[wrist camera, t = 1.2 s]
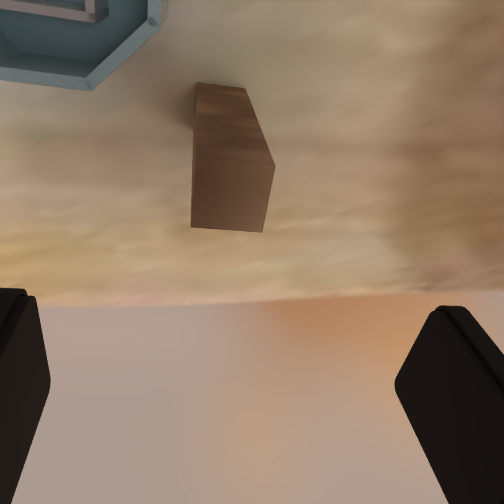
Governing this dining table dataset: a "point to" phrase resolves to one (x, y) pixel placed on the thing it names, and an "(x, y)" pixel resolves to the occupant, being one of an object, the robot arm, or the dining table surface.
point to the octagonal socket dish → (73, 38)
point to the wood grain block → (228, 162)
